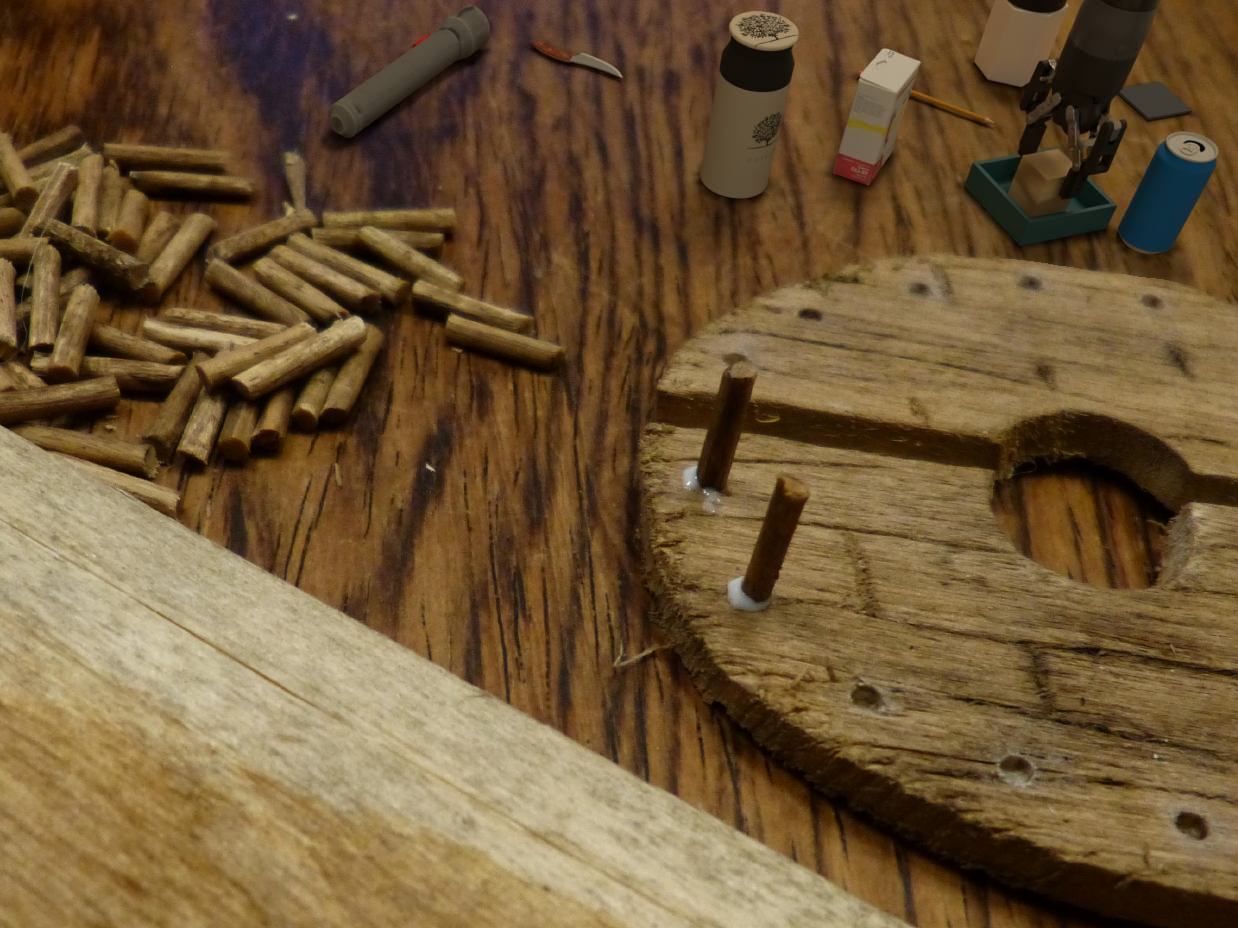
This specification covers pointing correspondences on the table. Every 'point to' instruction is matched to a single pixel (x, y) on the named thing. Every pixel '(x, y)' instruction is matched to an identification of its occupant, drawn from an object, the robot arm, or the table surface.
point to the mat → (1154, 101)
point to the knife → (575, 58)
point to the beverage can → (1168, 192)
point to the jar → (1018, 38)
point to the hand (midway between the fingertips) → (1045, 175)
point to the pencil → (948, 106)
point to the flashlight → (411, 71)
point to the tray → (1080, 216)
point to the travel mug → (749, 104)
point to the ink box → (875, 115)
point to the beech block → (1040, 183)
